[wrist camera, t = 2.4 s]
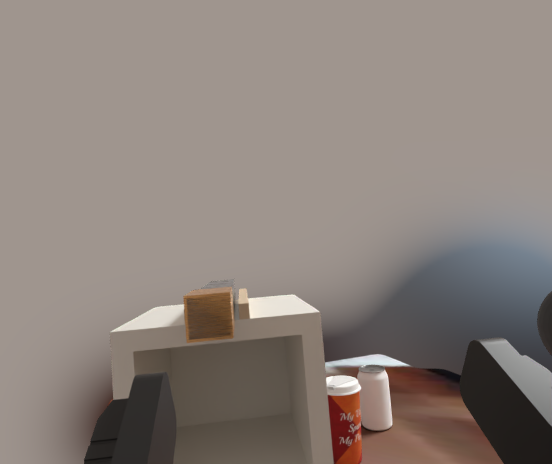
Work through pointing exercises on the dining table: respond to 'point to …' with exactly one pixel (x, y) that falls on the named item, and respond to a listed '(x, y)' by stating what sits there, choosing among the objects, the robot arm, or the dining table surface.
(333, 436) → the paper cup
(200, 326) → the brown grained square bar
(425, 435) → the dining table surface
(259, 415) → the tall white box
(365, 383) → the can
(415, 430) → the dining table surface
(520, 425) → the robot arm
